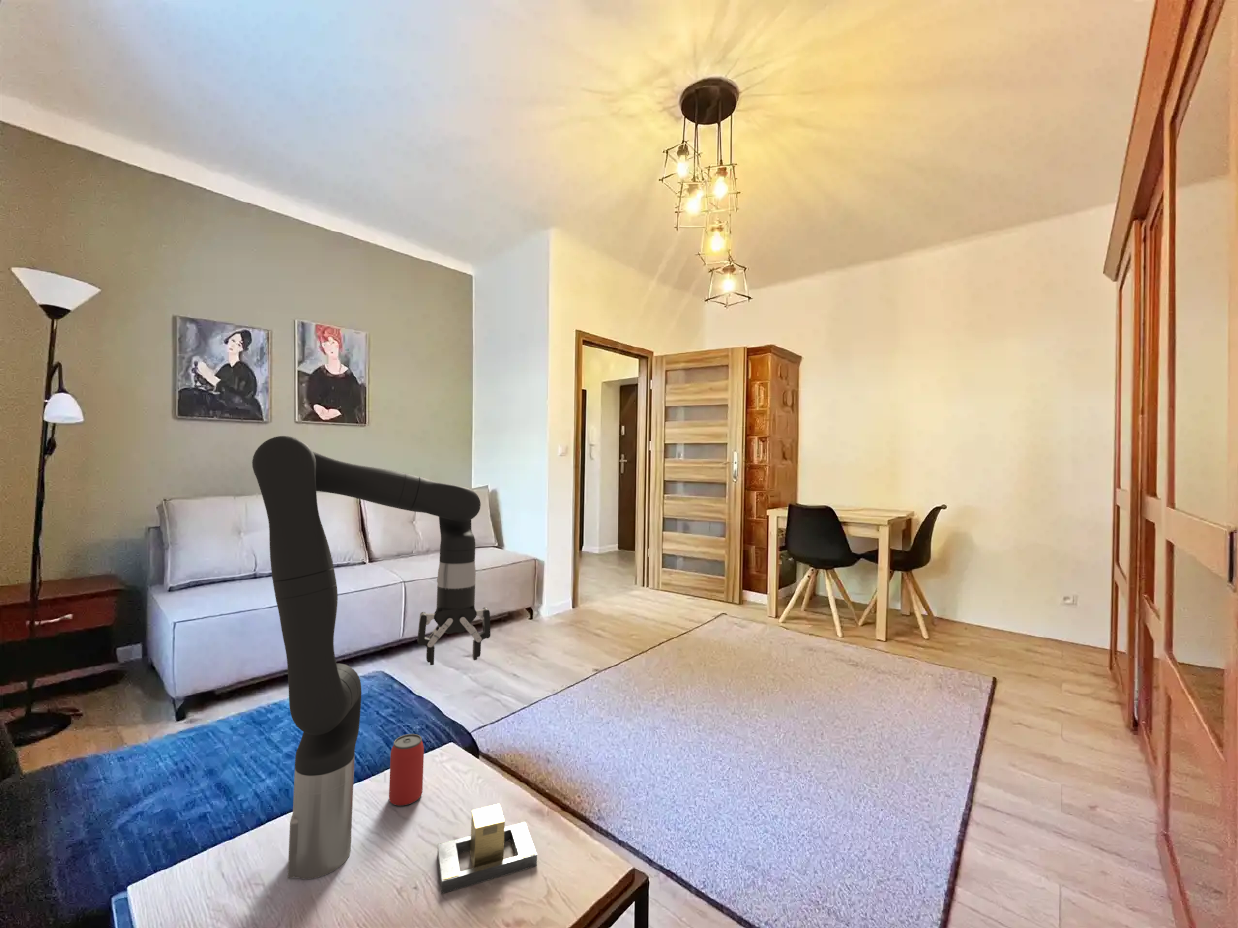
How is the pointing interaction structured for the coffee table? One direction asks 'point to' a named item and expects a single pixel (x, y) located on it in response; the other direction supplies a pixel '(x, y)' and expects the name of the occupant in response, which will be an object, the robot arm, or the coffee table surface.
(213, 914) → the coffee table surface
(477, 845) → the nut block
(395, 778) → the beer can
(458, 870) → the grey rectangular frame
